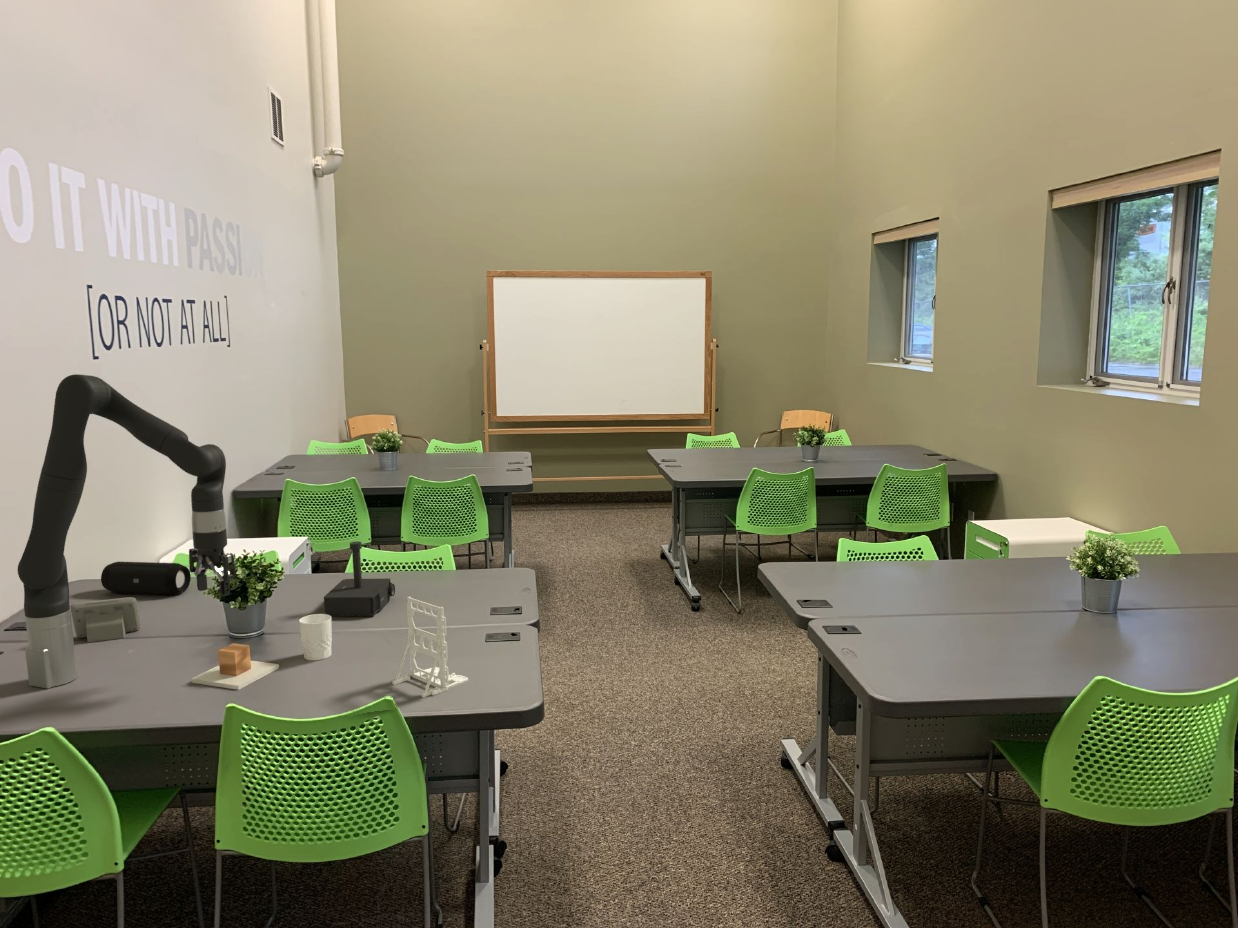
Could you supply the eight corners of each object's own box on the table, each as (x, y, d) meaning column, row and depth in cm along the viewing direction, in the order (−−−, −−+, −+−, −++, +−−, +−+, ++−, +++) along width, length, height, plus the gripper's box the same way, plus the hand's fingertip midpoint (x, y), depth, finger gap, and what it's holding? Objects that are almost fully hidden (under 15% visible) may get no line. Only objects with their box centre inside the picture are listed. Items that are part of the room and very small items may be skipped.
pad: (238, 689, 217) (238, 685, 216) (191, 682, 221) (191, 678, 221) (278, 668, 230) (278, 664, 229) (233, 661, 234) (233, 658, 234)
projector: (381, 617, 268) (377, 550, 264) (323, 618, 268) (319, 551, 265) (398, 597, 286) (394, 534, 283) (344, 598, 287) (340, 535, 284)
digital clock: (144, 628, 260) (140, 592, 259) (133, 639, 252) (129, 602, 250) (82, 633, 258) (77, 596, 256) (68, 644, 249) (64, 606, 247)
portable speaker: (100, 596, 292) (97, 566, 290) (121, 587, 301) (118, 557, 300) (175, 599, 288) (172, 568, 286) (193, 589, 298) (191, 559, 296)
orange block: (236, 676, 222) (234, 652, 221) (220, 673, 224) (217, 650, 223) (251, 668, 227) (249, 645, 226) (234, 666, 228) (232, 643, 227)
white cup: (301, 652, 240) (298, 616, 238) (332, 648, 243) (330, 612, 241) (302, 663, 233) (299, 625, 231) (334, 658, 235) (332, 621, 234)
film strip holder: (473, 680, 220) (470, 600, 217) (426, 699, 210) (422, 614, 207) (436, 666, 230) (432, 588, 226) (389, 682, 219) (384, 602, 216)
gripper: (176, 527, 223) (181, 592, 225) (214, 534, 216) (219, 601, 218) (204, 521, 229) (208, 584, 232) (242, 528, 222) (246, 593, 224)
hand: (213, 592), depth 225 cm, fingers open, 8 cm apart
